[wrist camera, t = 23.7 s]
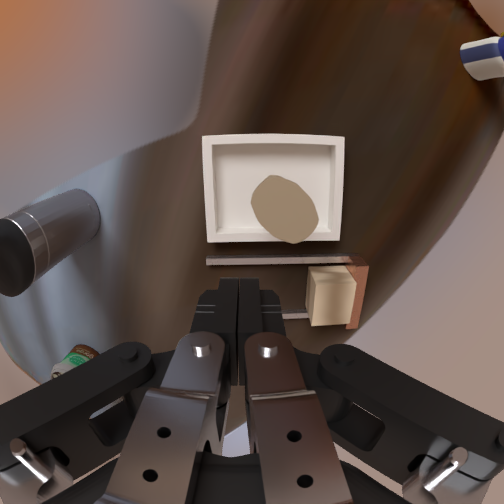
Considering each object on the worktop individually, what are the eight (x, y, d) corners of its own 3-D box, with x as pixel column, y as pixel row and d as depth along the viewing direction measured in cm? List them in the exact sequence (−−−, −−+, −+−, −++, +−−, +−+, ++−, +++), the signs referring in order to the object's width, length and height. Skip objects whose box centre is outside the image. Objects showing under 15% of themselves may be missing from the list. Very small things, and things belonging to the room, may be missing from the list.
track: (212, 315, 47) (209, 333, 42) (207, 255, 43) (201, 269, 38) (348, 311, 47) (357, 328, 42) (357, 253, 43) (368, 266, 38)
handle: (269, 157, 37) (279, 165, 23) (301, 190, 39) (329, 217, 25) (244, 182, 38) (239, 205, 24) (277, 213, 40) (290, 253, 26)
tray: (210, 234, 42) (207, 242, 39) (206, 136, 36) (202, 136, 34) (333, 233, 42) (339, 240, 39) (337, 137, 36) (344, 137, 33)
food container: (107, 346, 51) (88, 379, 41) (113, 367, 53) (96, 399, 44) (62, 335, 50) (41, 362, 41) (69, 355, 52) (50, 382, 43)
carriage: (305, 304, 46) (311, 326, 40) (308, 266, 43) (316, 284, 38) (339, 303, 46) (349, 323, 40) (344, 265, 43) (356, 283, 38)
